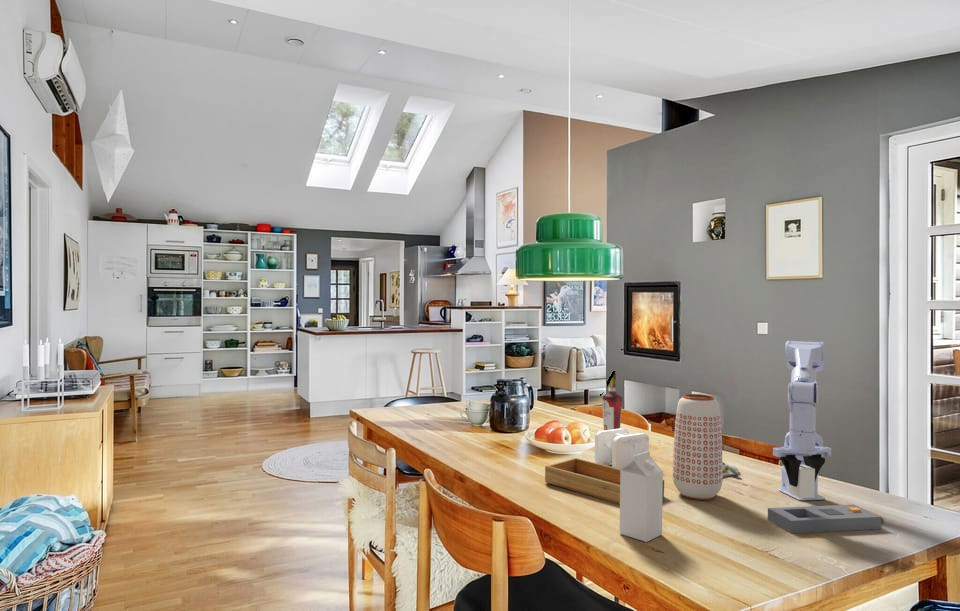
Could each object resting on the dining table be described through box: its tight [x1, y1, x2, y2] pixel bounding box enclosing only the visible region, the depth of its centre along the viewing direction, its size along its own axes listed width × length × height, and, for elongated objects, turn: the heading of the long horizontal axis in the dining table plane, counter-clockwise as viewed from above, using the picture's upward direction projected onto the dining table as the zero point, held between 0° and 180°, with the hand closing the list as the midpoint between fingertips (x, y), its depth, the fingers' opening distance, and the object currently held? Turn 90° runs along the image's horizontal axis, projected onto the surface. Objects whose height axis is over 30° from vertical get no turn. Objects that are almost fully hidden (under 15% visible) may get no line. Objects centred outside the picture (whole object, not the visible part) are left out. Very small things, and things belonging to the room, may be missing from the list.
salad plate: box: [722, 461, 740, 478], centre depth 197 cm, size 19×18×5 cm
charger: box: [789, 465, 815, 498], centre depth 150 cm, size 4×4×7 cm
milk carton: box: [619, 450, 664, 543], centre depth 142 cm, size 7×7×19 cm
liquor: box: [601, 372, 623, 431], centre depth 230 cm, size 7×7×28 cm
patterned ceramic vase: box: [672, 393, 724, 501], centre depth 172 cm, size 13×13×28 cm
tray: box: [544, 457, 665, 505], centre depth 176 cm, size 31×15×6 cm, turn 45°
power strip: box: [767, 504, 884, 534], centre depth 150 cm, size 28×9×4 cm, turn 98°
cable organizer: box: [594, 427, 650, 469], centre depth 201 cm, size 15×11×12 cm
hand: (801, 485), depth 150 cm, fingers closed on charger, 4 cm apart
